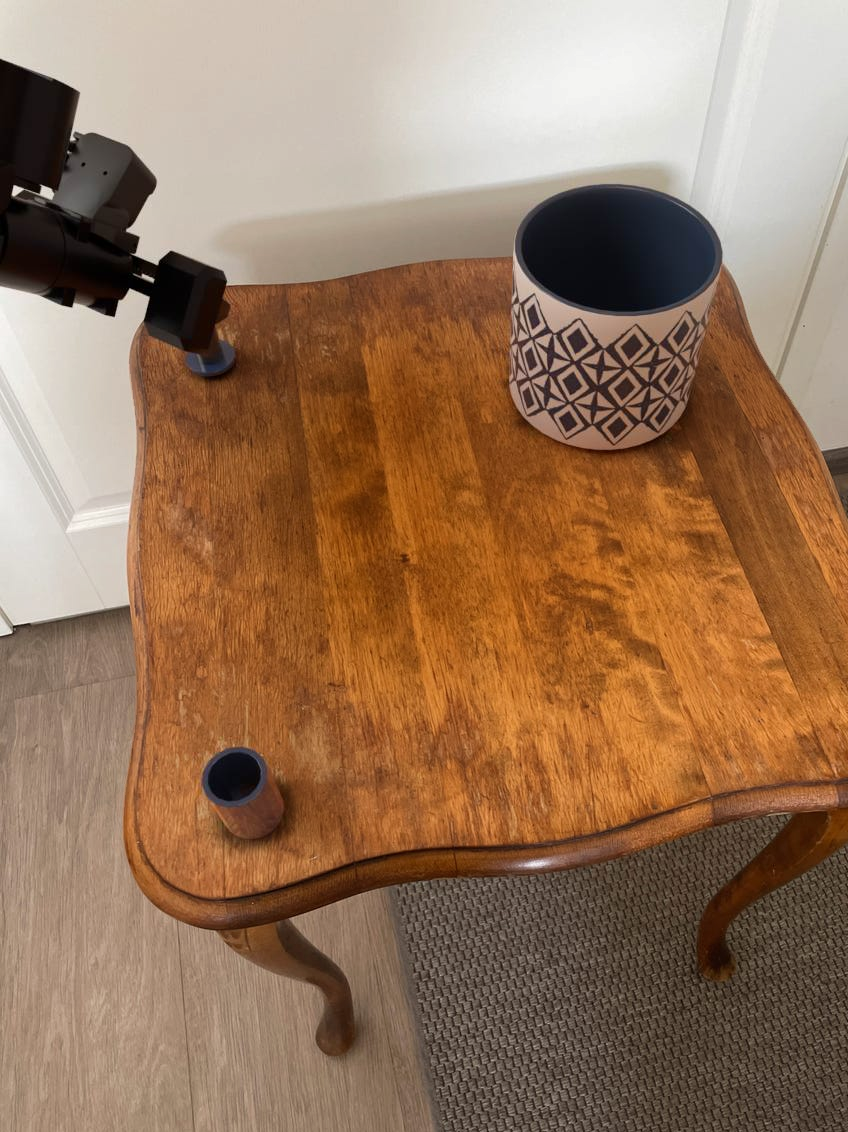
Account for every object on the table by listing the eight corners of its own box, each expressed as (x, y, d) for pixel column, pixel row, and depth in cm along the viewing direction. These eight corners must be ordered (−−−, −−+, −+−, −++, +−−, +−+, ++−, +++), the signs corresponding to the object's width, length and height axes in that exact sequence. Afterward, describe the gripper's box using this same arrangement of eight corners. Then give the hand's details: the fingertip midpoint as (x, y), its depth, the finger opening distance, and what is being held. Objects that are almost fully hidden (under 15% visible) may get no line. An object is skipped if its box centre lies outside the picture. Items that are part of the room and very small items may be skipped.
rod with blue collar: (187, 383, 84) (153, 288, 75) (189, 349, 86) (157, 253, 77) (236, 379, 84) (208, 285, 75) (238, 346, 86) (211, 250, 77)
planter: (685, 332, 87) (718, 187, 75) (690, 460, 79) (729, 322, 66) (514, 322, 88) (520, 177, 75) (502, 448, 79) (506, 309, 67)
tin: (222, 842, 61) (199, 809, 56) (225, 785, 64) (203, 749, 59) (283, 836, 62) (266, 803, 57) (284, 780, 64) (267, 743, 59)
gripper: (171, 166, 58) (304, 228, 73) (-44, 83, 63) (121, 157, 77) (127, 342, 61) (263, 368, 76) (-74, 250, 66) (89, 291, 81)
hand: (183, 291), depth 77 cm, fingers open, 9 cm apart
